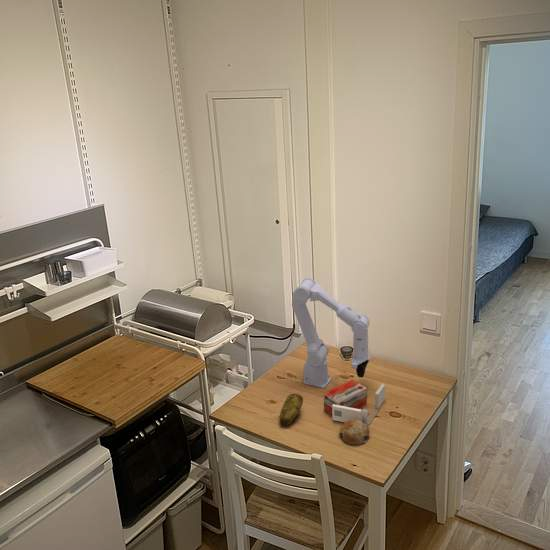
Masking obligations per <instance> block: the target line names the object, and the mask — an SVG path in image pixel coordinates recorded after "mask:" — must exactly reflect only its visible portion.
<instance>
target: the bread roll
mask: <svg viewBox="0 0 550 550" xmlns="http://www.w3.org/2000/svg"><path fill="white" fill-rule="evenodd" d="M368 426H369V425H368ZM368 426H367V425H366V424H365V423H363V422H362V420H361V421H358V420H349V421H347V422H343V424H341V426H340V427H339V428H340V429H339V430H338V433H339V435H341V436H340V438H341V439H342V440H343V441H344V442H346V443H347V444H349V445H356V446H357V445H362V444H366V443H367V442H368V439H369V437H370V428H369V427H368Z"/></svg>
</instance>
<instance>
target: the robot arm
mask: <svg viewBox="0 0 550 550" xmlns="http://www.w3.org/2000/svg"><path fill="white" fill-rule="evenodd" d="M308 301H309V302H317V301H319V302H321V303H322V304H324V305H325V306H327V307H328V308H329V309H331V310H333V311H334V312H335V314H336V317H337V318H338V319H340V320H341V321H343V323H345V324H346V325H348V326H349V327H350V329H351V331H352V332H353V337H352V338H353V339H352V341H353V345H352V346H353V348H352V349H353V351H352V352H353V354H352V362H351V366H350V367H351V369H353V370H355V371H356V375H357V377H359V378H364V376H365V374H366V368H367V366H368V364H369V362H370V360H371V359H372V357H371V355H370V352H371V349H370V348H369V327H370V322H371V321H370V319H369V318H368V317H367V315H364V314H360V313H358V312H356V311H355V310H354V309H352V306H350V305H347V304H341V303H340V302H339V301H337V300H336V299H335V298H334V297H333V296H332V295H331V294H330V293H328V292H327V291H326V290H324V289H323V288H322V286H321V285H320V283H318V282H316V281H315V280H314V279H313V278H309V277H308V278H304V279H303V280H302V282H300V284H299V285H298V286H297V287H296V288H295V289H294V291H293V292H292V301H291V307H292V309H293V313H294V315H295V318H296V321H297V322H298V324H299V327H300V330H301V332H302V335H303V338H304V340H305V342H306V354H307V359H306V360H305V362H304V365H303V384H304V385H310V386H313V387H317V388H322V389H324V388H325V387H326V386H328V385H329V383H330V382H331V381H332V377H329V374H328V369H329V368H328V358H327V356H328V354H329V351H330V350H329V347H328V346H327V345H326V344H325V343H324V340H323V339H322V338H320V337H319V334H318V332H317V330H316V327H315V324H314V322H313V319H312V317H311V314H310V311H309V309H308V306H307V302H308ZM369 355H370V356H369Z"/></svg>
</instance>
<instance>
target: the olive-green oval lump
mask: <svg viewBox="0 0 550 550" xmlns="http://www.w3.org/2000/svg"><path fill="white" fill-rule="evenodd" d="M303 403H304V398H303V396H302V395H300V394H299V393H290V394H289V395H288V396H287V397H286V399H285V401H284V403H283V405H282V407H281V410H280V412H279V420H280V423H281V424H282V425H284V426H288V425H290V424H292V423H293V421H294V419H296V417H297V416H298V414H299V412H300V411H301V408H302V406H303V405H304V404H303Z"/></svg>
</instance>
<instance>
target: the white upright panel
mask: <svg viewBox="0 0 550 550" xmlns="http://www.w3.org/2000/svg"><path fill="white" fill-rule="evenodd" d="M385 399H386V384H384V383H381V385H380V386H379V387H378V389H377V390H376V392H375V394H374V407H373V408H372V409H371V410H370V412H368V409H366V408H363V409H361V421H362V422H363V423H365V424H366V425H367V426H370V425H371V424H372V422H373V420H374V419H375V417H376V416H377V415H378V413H379V411H380V407H381V406H382V405H383V402H384V401H385Z"/></svg>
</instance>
